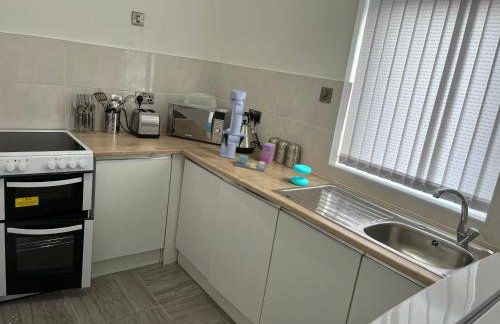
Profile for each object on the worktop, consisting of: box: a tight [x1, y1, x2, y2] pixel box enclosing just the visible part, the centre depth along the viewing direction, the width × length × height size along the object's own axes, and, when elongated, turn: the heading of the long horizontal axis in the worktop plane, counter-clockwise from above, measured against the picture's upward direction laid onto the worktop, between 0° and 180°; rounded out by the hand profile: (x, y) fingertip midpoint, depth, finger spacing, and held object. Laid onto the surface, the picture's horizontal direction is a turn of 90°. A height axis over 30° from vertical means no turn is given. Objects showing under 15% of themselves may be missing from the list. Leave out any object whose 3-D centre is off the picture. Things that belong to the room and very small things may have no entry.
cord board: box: [234, 159, 267, 173], centre depth 232 cm, size 18×12×4 cm, turn 83°
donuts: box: [290, 164, 312, 187], centre depth 214 cm, size 10×10×10 cm
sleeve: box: [238, 154, 249, 164], centre depth 232 cm, size 5×5×4 cm
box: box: [259, 142, 276, 165], centre depth 253 cm, size 10×6×12 cm, turn 161°
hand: (232, 147), depth 231 cm, fingers open, 7 cm apart
